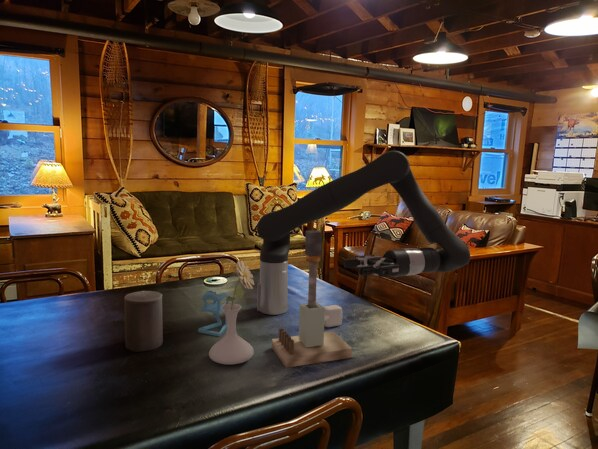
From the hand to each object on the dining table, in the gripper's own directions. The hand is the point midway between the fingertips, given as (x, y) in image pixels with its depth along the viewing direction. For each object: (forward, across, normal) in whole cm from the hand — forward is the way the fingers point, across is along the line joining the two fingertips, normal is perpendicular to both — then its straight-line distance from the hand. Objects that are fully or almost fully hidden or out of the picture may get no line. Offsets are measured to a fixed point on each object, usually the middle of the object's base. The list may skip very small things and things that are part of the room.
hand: (351, 267), depth 119 cm
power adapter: (+1, -16, +22) cm, 28 cm away
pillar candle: (+53, -19, +21) cm, 60 cm away
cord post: (+12, 0, +22) cm, 25 cm away
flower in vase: (+32, -4, +22) cm, 39 cm away
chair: (+32, -23, +22) cm, 45 cm away
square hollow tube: (+12, 0, +19) cm, 22 cm away
